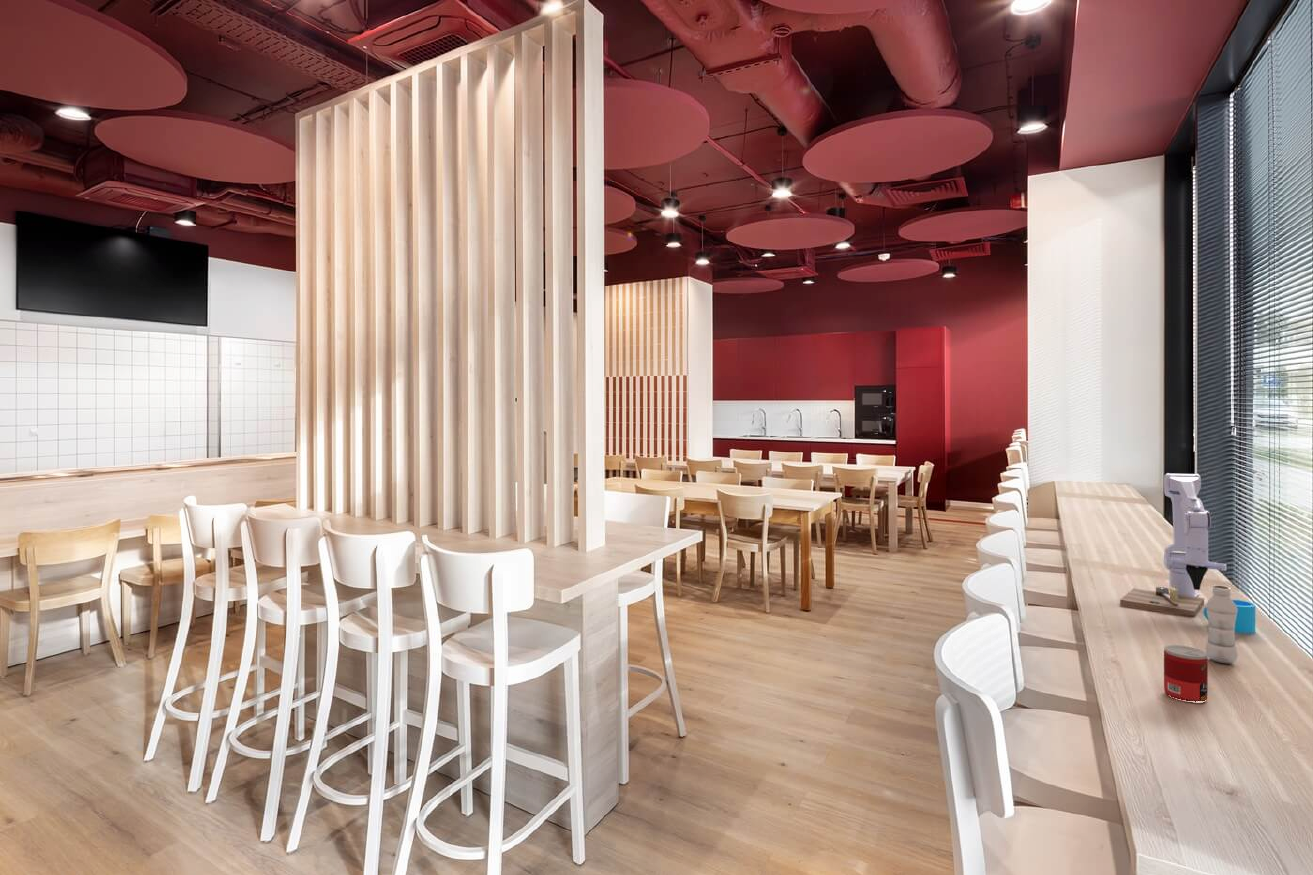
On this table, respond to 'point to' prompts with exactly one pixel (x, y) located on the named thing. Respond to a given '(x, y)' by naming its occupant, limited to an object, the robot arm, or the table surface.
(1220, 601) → the plastic bottle
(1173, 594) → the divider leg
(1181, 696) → the canned food
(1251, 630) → the mug
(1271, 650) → the table surface
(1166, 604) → the hole plate
